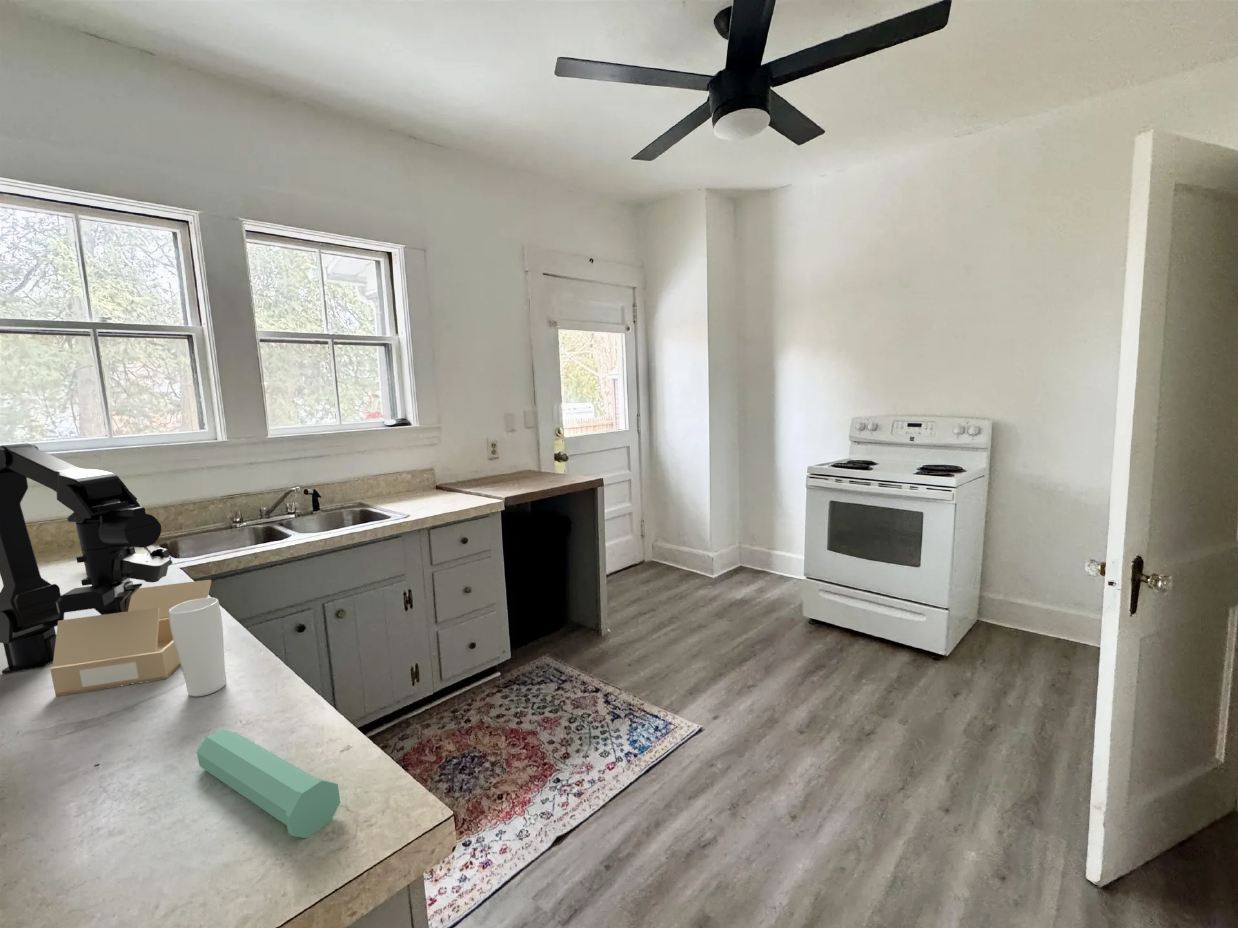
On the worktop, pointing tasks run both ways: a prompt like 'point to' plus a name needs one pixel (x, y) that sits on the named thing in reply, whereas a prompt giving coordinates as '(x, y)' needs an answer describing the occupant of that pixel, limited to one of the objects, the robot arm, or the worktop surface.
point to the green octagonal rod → (270, 782)
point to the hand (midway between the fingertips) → (121, 628)
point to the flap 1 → (106, 636)
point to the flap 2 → (168, 596)
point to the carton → (119, 668)
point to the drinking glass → (199, 644)
